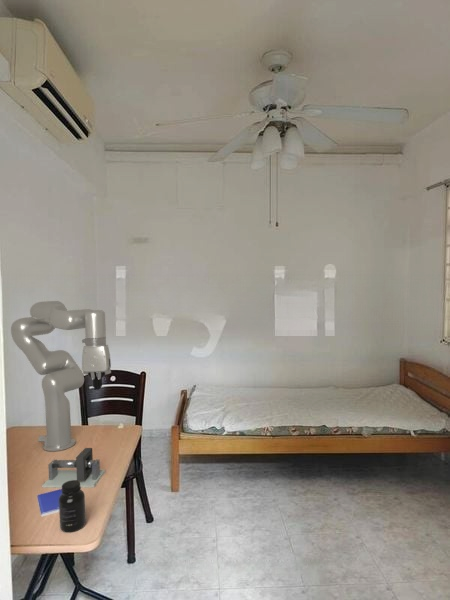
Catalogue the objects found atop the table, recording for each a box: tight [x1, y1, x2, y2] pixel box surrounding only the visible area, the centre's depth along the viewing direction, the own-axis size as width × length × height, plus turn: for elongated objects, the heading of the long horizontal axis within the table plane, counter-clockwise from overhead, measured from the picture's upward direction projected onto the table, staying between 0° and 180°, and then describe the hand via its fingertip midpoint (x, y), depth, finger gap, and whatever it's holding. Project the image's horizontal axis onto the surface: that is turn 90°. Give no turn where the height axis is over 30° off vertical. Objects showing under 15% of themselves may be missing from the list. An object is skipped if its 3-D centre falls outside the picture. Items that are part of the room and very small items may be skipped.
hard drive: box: [36, 488, 62, 518], centre depth 126 cm, size 2×8×12 cm
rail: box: [47, 458, 101, 480], centre depth 140 cm, size 16×4×6 cm, turn 87°
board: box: [41, 469, 106, 489], centre depth 141 cm, size 18×11×1 cm, turn 87°
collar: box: [75, 447, 94, 481], centre depth 140 cm, size 2×8×8 cm, turn 177°
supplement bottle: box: [58, 480, 87, 533], centre depth 113 cm, size 7×7×12 cm
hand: (97, 388), depth 157 cm, fingers closed
